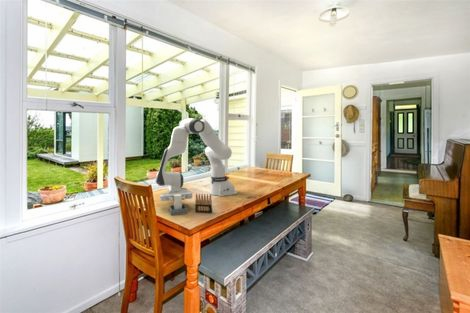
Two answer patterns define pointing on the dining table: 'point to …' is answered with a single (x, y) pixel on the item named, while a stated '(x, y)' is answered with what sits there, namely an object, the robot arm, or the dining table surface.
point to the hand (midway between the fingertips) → (177, 199)
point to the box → (178, 210)
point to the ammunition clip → (203, 204)
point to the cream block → (177, 201)
